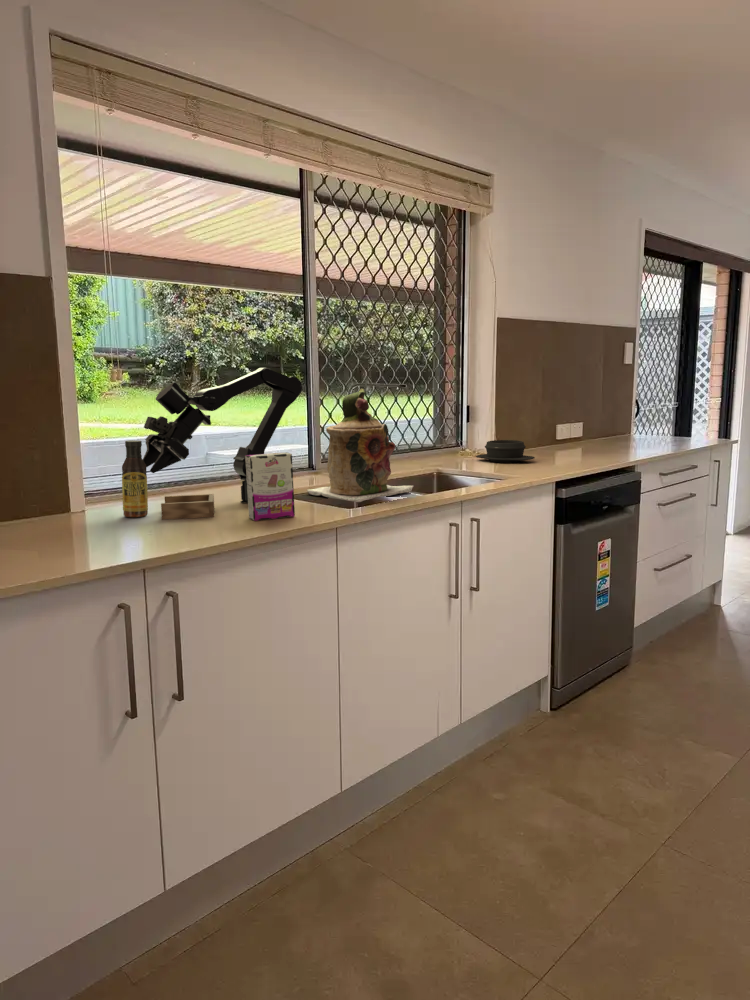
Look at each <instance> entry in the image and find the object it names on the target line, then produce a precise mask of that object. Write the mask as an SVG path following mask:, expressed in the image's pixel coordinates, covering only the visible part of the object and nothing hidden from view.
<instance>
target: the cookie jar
mask: <svg viewBox="0 0 750 1000" xmlns="http://www.w3.org/2000/svg"><path fill="white" fill-rule="evenodd" d="M365 393H366V392H365V389H364V388H359V391H357V392H353V393H350V394H347V395H346V396H345V397H343V399H342V403H341V406H342V407H341V411H342V413H343V418H342V420H341V421H340V422H338V423H337V424H335V425H330V426H328V427H326V428H325V431H326V433H327V434H328V435H329V441H328V442H329V445H328V447H327V448H328V449H327V450H328V455H327V460H328V461H327V465H326V467H327V474H328V478H329V483H330V485H329V486H322V487H316V488H313V489H306V493H307V494H308V495H312V496H322V497H325V498H329V499H337V500H342V501H348V502H353V503H354V502H356V503H362V502H363V501H366V500H367V501H368V500H372V499H375V498H377V497H389V496H396V495H401V494H404V493H410V492H412V490H413V488H414V485H397V486H396V485H394V486H393V485H389V484H388V479H389V477H390V475H391V474H392V470H391V469H392V468H391V461H390V457H391V456H392V455H393V453H394V451H395V450H396V444H395V443H394V442H392V441H390V438H389V428H388V425H387V424H386V423H383V424H382V423H381V422H380V421H379V419H377V418H376V417H374V416H373V415H372V414H371V413H370V412H369V411H368V410H369V409H370V405H369V402H368V400H367V399H365Z"/></svg>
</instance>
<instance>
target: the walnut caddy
mask: <svg viewBox="0 0 750 1000" xmlns="http://www.w3.org/2000/svg"><path fill="white" fill-rule="evenodd" d="M160 508H161V511H160V512H161V520H175V519H176V520H179V519H193V518H198V519H199V518H214V517H215V494H214V493H204V494H203V493H201V494H200V493H199V494H183V495H182V494H181V495H178V494H177V495H164V503H163V502H161V503H160Z"/></svg>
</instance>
